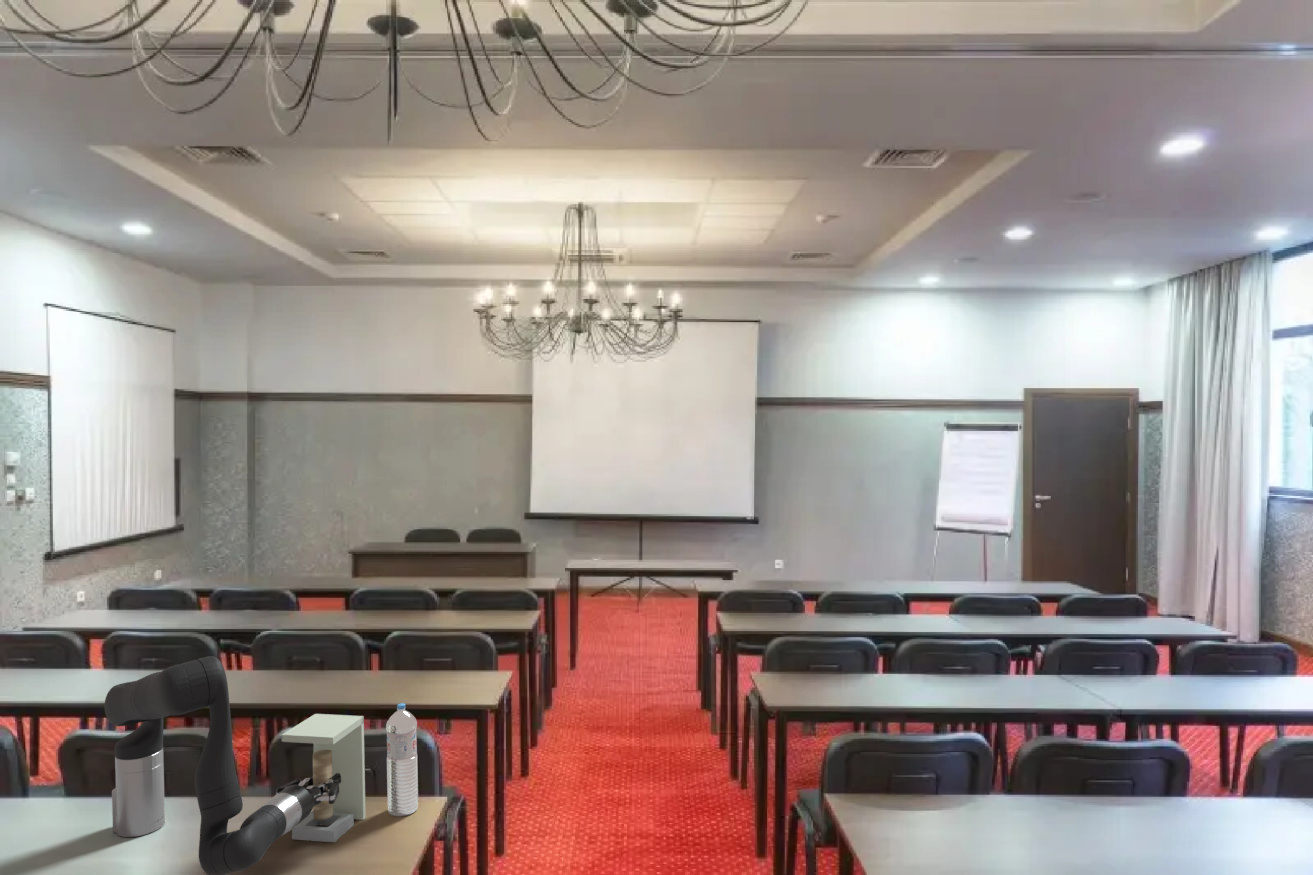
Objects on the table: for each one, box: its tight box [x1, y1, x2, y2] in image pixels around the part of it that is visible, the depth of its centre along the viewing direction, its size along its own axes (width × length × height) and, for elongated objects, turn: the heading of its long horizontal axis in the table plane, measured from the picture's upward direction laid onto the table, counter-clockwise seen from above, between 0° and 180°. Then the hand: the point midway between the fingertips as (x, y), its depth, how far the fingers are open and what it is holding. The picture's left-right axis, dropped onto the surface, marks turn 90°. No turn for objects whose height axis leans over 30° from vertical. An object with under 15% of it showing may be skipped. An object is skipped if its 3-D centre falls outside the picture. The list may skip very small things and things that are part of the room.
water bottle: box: [385, 702, 419, 817], centre depth 197 cm, size 7×7×25 cm
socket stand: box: [281, 713, 366, 843], centre depth 188 cm, size 12×13×24 cm
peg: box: [312, 750, 333, 820], centre depth 187 cm, size 4×4×14 cm
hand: (329, 777), depth 189 cm, fingers closed on peg, 4 cm apart
